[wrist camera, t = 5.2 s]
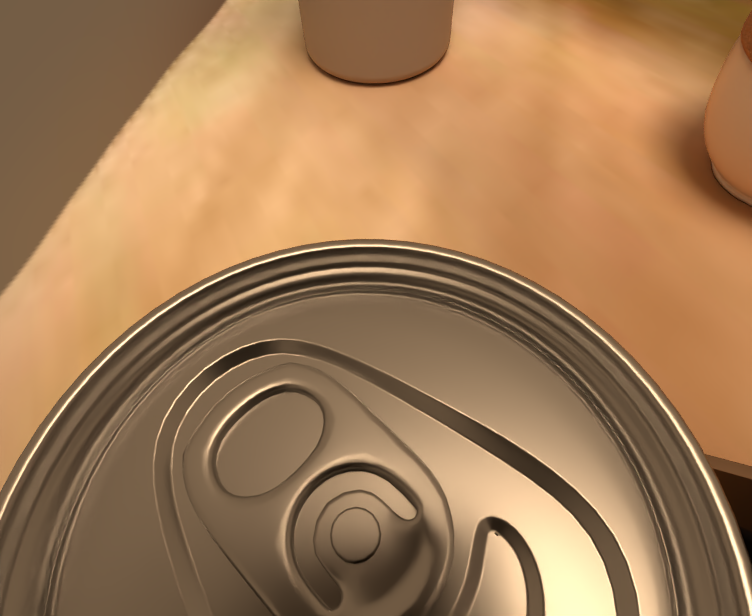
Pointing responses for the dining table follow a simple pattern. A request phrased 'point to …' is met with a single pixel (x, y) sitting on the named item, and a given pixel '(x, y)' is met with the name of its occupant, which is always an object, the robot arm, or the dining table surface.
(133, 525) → the soda can
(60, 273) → the dining table surface
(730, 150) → the lidded bowl
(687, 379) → the dining table surface
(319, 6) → the cylinder vase
